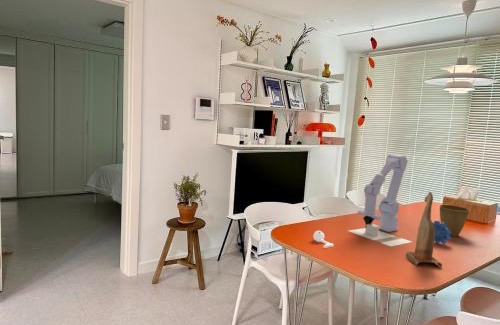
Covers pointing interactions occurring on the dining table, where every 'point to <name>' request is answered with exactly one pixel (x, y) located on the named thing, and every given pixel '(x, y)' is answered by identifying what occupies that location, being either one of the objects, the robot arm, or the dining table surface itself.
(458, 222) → the plant pot
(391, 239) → the subfloor board
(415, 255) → the bird sculpture
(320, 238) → the figurine
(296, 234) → the dining table surface
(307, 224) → the dining table surface
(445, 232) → the grapes
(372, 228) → the cream white cube
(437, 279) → the dining table surface
